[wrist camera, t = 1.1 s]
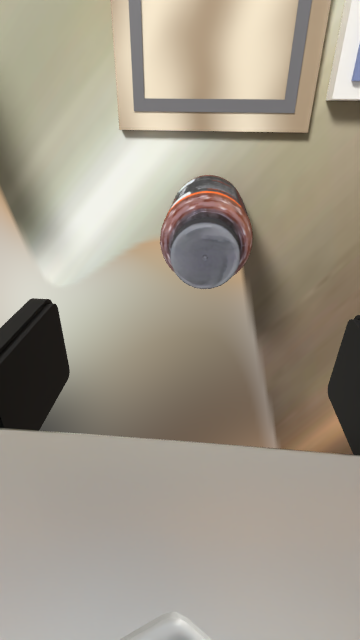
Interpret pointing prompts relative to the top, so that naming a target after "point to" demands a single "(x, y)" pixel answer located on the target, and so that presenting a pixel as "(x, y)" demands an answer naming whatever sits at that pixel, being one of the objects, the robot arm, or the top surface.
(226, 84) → the marked board
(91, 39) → the top surface
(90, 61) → the top surface
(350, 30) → the ink pad
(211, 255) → the supplement bottle
